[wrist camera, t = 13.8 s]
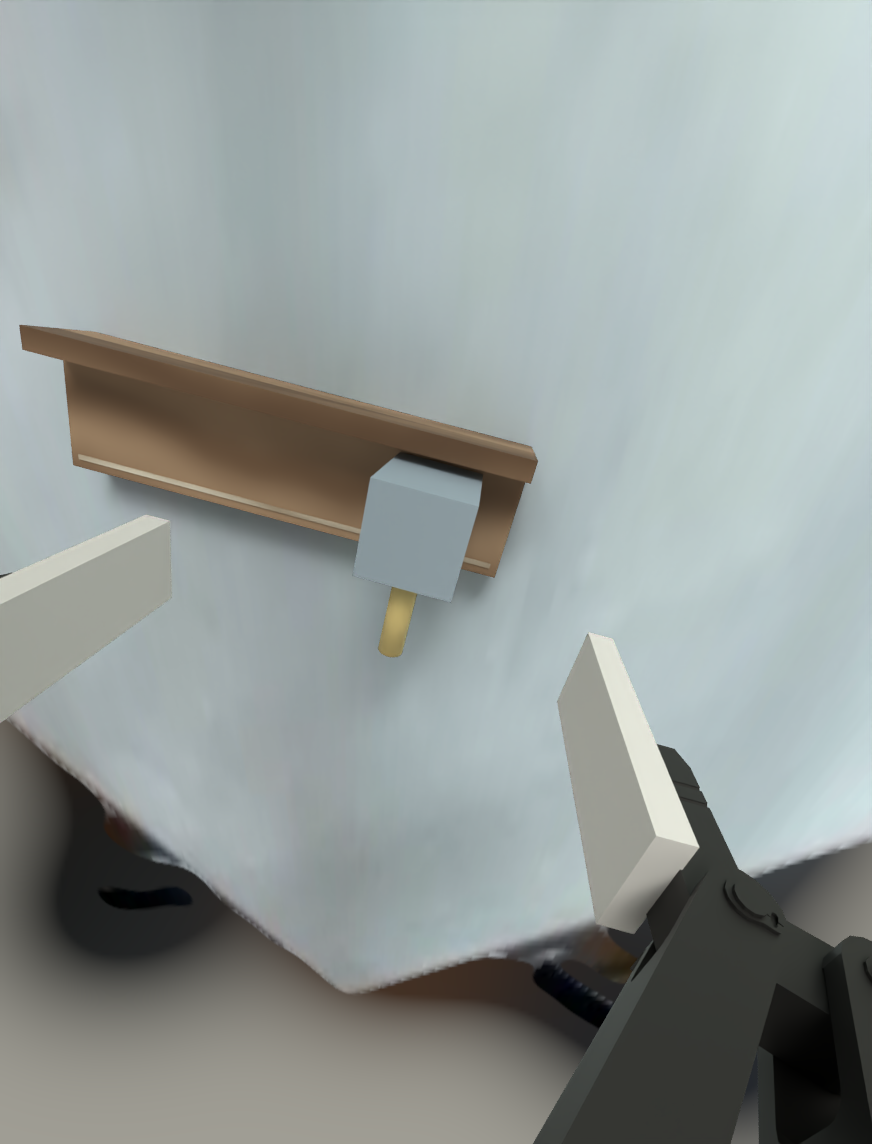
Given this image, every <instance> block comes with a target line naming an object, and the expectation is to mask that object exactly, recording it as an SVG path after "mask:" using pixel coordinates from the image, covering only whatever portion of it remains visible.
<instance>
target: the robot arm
mask: <svg viewBox="0 0 872 1144" xmlns="http://www.w3.org/2000/svg"><path fill="white" fill-rule="evenodd" d="M171 598H172V591H171V539H170V521H169V520H165V519H161V518H157V517H154V516H150V515H144V516H141V517H139V518H137V519H135V520H132V521H130V522H128V523H126V524H123V525H121V526H119V527H116V528H114V529H112V530H110V531H107V532H105V533H103V534H100V535H98V536H96V537H94V538H91V539H89V540H87V541H85V542H82V543H80V544H78V545H75V546H73V547H71V548H69V549H66V550H64V551H62V552H59V553H57V554H55V555H53V556H50V557H48V558H46V559H44V560H41V561H39V562H37V563H34V564H32V565H30V566H28V567H25V568H23V569H21V570H18V571H16V572H14V573H8V574H4V575H0V723H1V722H2V721H4V720H5V719H6V718H8V717H9V716H11V715H12V714H13V713H15V712H16V711H17V710H19V709H20V708H21V707H23V706H24V705H26V704H27V703H28V702H30V701H31V700H32V699H34V698H35V697H37V696H38V695H39V694H41V693H42V692H43V691H45V690H46V689H48V688H49V687H50V686H52V685H53V684H54V683H56V682H57V681H58V680H60V679H61V678H63V677H64V676H65V675H67V674H68V673H69V672H71V671H72V670H74V669H75V668H76V667H78V666H79V665H80V664H82V663H83V662H85V661H86V660H87V659H89V658H90V657H91V656H93V655H94V654H95V653H97V652H98V651H100V650H101V649H102V648H104V647H105V646H106V645H108V644H109V643H111V642H112V641H113V640H115V639H116V638H117V637H119V636H120V635H122V634H123V633H124V632H126V631H127V630H128V629H130V628H131V627H132V626H134V625H135V624H137V623H138V622H139V621H141V620H142V619H143V618H145V617H146V616H148V615H149V614H150V613H152V612H153V611H154V610H156V609H157V608H159V607H160V606H161V605H163V604H164V603H165V602H167V601H168V600H169V599H171ZM557 703H558V709H559V715H560V720H561V726H562V732H563V737H564V743H565V749H566V754H567V760H568V766H569V771H570V777H571V783H572V789H573V794H574V800H575V806H576V811H577V817H578V823H579V828H580V834H581V840H582V846H583V851H584V857H585V863H586V868H587V874H588V880H589V885H590V891H591V897H592V903H593V908H594V914H595V920H596V924H599V925H603V926H606V927H610V928H614V929H617V930H621V931H625V932H628V933H632V934H634V933H635V932H636V930H637V929H638V928H639V927H640V925H641V924H642V922H643V921H644V920H645V919H646V917H647V918H648V923H649V926H650V930H651V934H652V937H653V941H652V942H651V943H650V944H649V945H648V947H647V948H646V949H645V950H644V952H643V953H642V954H641V955H640V957H639V958H638V959H637V960H636V962H635V963H634V964H633V965H632V967H631V968H630V969H631V970H632V971H633V972H632V974H631V976H630V977H629V979H628V981H627V982H626V984H625V986H624V988H623V989H622V991H621V993H620V995H619V997H618V998H617V1000H616V1001H615V1003H614V1005H613V1007H612V1008H611V1010H610V1012H609V1013H608V1015H607V1017H606V1019H605V1020H604V1022H603V1024H602V1026H601V1027H600V1029H599V1031H598V1032H597V1034H596V1036H595V1038H594V1039H593V1041H592V1043H591V1045H590V1047H589V1048H588V1050H587V1051H586V1053H585V1055H584V1057H583V1058H582V1060H581V1062H580V1064H579V1065H578V1067H577V1069H576V1070H575V1072H574V1074H573V1076H572V1077H571V1079H570V1081H569V1083H568V1084H567V1086H566V1088H565V1090H564V1091H563V1093H562V1094H561V1096H560V1098H559V1100H558V1101H557V1103H556V1105H555V1107H554V1108H553V1110H552V1112H551V1114H550V1115H549V1117H548V1119H547V1120H546V1122H545V1124H544V1126H543V1128H542V1129H541V1131H540V1133H539V1134H538V1136H537V1138H536V1139H535V1141H534V1143H533V1144H730V1143H731V1140H732V1136H733V1133H734V1129H735V1126H736V1122H737V1119H738V1115H739V1112H740V1108H741V1105H742V1101H743V1097H744V1094H745V1091H746V1087H747V1084H748V1080H749V1077H750V1073H751V1070H752V1066H753V1063H754V1059H755V1056H756V1052H757V1051H758V1112H759V1113H758V1114H759V1144H872V941H869V940H867V939H865V938H863V937H856V936H849V937H848V938H846V939H844V940H843V941H842V942H841V943H839V944H838V945H837V946H836V947H835V948H834V947H832V946H830V945H829V944H827V943H825V942H823V941H821V940H820V939H818V938H816V937H814V936H813V935H811V934H809V933H807V932H805V931H803V930H802V929H800V928H798V927H797V926H795V925H793V924H791V923H790V922H788V921H787V920H786V918H785V916H784V914H783V911H782V910H781V908H780V907H779V905H778V904H777V903H776V901H775V900H774V899H773V897H772V896H771V894H769V892H768V891H767V890H766V889H764V888H763V887H762V886H761V885H760V884H759V883H758V882H757V881H756V880H755V879H753V878H752V877H750V876H749V875H747V874H746V873H744V872H743V871H741V870H739V869H738V867H737V865H736V863H735V861H734V859H733V857H732V855H731V853H730V850H729V848H728V846H727V844H726V842H725V840H724V838H723V836H722V834H721V831H720V829H719V827H718V825H717V823H716V821H715V819H714V817H713V815H712V812H711V810H710V808H707V802H706V800H705V798H704V796H703V793H702V791H699V788H700V787H699V785H698V783H697V781H696V779H695V777H694V774H693V772H692V770H691V768H690V767H689V766H688V765H687V763H686V762H685V761H684V760H683V759H682V757H681V756H680V755H679V754H678V753H677V752H676V750H675V749H673V748H669V747H665V746H662V745H658V744H656V742H655V739H654V737H653V734H652V732H651V730H650V727H649V725H648V722H647V720H646V717H645V715H644V713H643V710H642V708H641V705H640V703H639V701H638V698H637V696H636V693H635V691H634V689H633V686H632V684H631V681H630V679H629V676H628V674H627V672H626V669H625V667H624V664H623V662H622V660H621V657H620V655H619V652H618V650H617V648H616V645H615V643H614V640H613V639H612V638H608V637H604V636H600V635H597V634H593V633H589V632H588V634H587V636H586V638H585V641H584V643H583V645H582V647H581V649H580V652H579V654H578V656H577V658H576V661H575V663H574V665H573V667H572V669H571V672H570V674H569V676H568V678H567V681H566V683H565V685H564V687H563V689H562V692H561V694H560V696H559V698H558V701H557Z"/></svg>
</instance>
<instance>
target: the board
mask: <svg viewBox="0 0 872 1144" xmlns="http://www.w3.org/2000/svg"><path fill="white" fill-rule="evenodd" d="M19 326H20V334H21V342H22V349H23V350H26V351H30V352H34V353H38V354H41V355H45V356H49V357H53V358H56V359H60V360H63V363H64V373H65V384H66V394H67V404H68V415H69V425H70V436H71V446H72V457H73V465H75V466H79V467H82V468H86V469H90V470H94V471H97V472H101V473H105V474H108V475H112V476H116V477H120V478H123V479H127V480H131V481H135V482H138V483H142V484H146V485H150V486H153V487H157V488H161V489H165V490H168V491H172V492H176V493H180V494H183V495H187V496H191V497H194V498H198V499H202V500H206V501H209V502H213V503H217V504H221V505H224V506H228V507H232V508H236V509H239V510H243V511H247V512H251V513H254V514H258V515H262V516H266V517H269V518H273V519H277V520H281V521H284V522H288V523H292V524H295V525H299V526H303V527H307V528H310V529H314V530H318V531H322V532H325V533H329V534H333V535H337V536H340V537H344V538H348V539H352V540H355V541H359V537H360V532H361V526H362V521H363V515H364V510H365V504H366V499H367V493H368V488H369V482H370V477H371V476H373V475H374V474H375V473H376V472H377V471H378V470H380V469H381V468H382V467H383V466H384V465H386V464H387V463H388V462H389V461H390V460H391V459H393V458H394V457H395V456H396V455H397V454H398V453H400V452H402V453H406V454H410V455H413V456H417V457H421V458H424V459H428V460H432V461H436V462H439V463H443V464H447V465H450V466H454V467H458V468H462V469H465V470H469V471H473V472H476V473H480V474H483V479H482V487H481V495H480V502H479V508H478V512H477V515H476V518H475V522H474V525H473V529H472V532H471V536H470V539H469V542H468V546H467V549H466V553H465V556H464V560H463V563H462V567H461V569H464V570H468V571H471V572H475V573H479V574H482V575H486V576H490V577H494V578H495V574H496V571H497V568H498V565H499V562H500V559H501V556H502V553H503V550H504V547H505V543H506V540H507V537H508V534H509V531H510V528H511V525H512V522H513V519H514V515H515V512H516V509H517V506H518V503H519V500H520V497H521V494H522V491H523V487H524V484H525V482H526V483H530V484H531V481H532V478H533V475H534V472H535V469H536V466H537V463H538V460H537V458H536V456H535V453H534V451H533V449H532V447H531V446H527V445H523V444H519V443H516V442H512V441H508V440H504V439H500V438H497V437H493V436H489V435H485V434H481V433H478V432H474V431H470V430H466V429H462V428H459V427H455V426H451V425H447V424H443V423H440V422H436V421H432V420H428V419H424V418H421V417H417V416H413V415H409V414H405V413H402V412H398V411H394V410H390V409H386V408H382V407H379V406H375V405H371V404H367V403H363V402H360V401H356V400H352V399H348V398H344V397H341V396H337V395H333V394H329V393H325V392H322V391H318V390H314V389H310V388H306V387H303V386H299V385H295V384H291V383H287V382H284V381H280V380H276V379H272V378H268V377H265V376H261V375H257V374H253V373H249V372H246V371H242V370H238V369H234V368H230V367H227V366H223V365H219V364H215V363H211V362H208V361H204V360H200V359H196V358H192V357H189V356H185V355H181V354H177V353H173V352H169V351H166V350H162V349H158V348H154V347H150V346H147V345H143V344H139V343H135V342H131V341H128V340H124V339H120V338H116V337H112V336H109V335H105V334H101V333H97V332H91V331H80V330H70V329H59V328H48V327H38V326H27V325H19Z"/></svg>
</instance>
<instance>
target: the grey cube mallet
mask: <svg viewBox="0 0 872 1144" xmlns="http://www.w3.org/2000/svg"><path fill="white" fill-rule="evenodd" d="M482 479H483V474H480V473H476V472H473V471H469V470H465V469H462V468H458V467H454V466H450V465H447V464H443V463H439V462H436V461H432V460H428V459H424V458H421V457H417V456H413V455H410V454H406V453H402V452H400V453H398V454H397V455H396V456H395V457H394V458H393V459H391V460H390V461H389V462H388V463H387V464H386V465H384V466H383V467H382V468H381V469H380V470H378V471H377V472H376V473H375V474H374V475H373V476H371V477H370V482H369V488H368V493H367V499H366V504H365V510H364V515H363V521H362V526H361V532H360V537H359V542H358V548H357V553H356V559H355V564H354V570H353V575H352V576H355V577H359V578H362V579H366V580H370V581H373V582H377V583H381V584H384V585H388V586H392V589H391V593H390V598H389V602H388V607H387V611H386V615H385V620H384V624H383V629H382V633H381V638H380V642H379V646H378V650H379V651H380V653H382V654H383V655H385V656H388V657H398V656H400V655H401V654H402V651H403V647H404V643H405V640H406V636H407V632H408V628H409V624H410V620H411V616H412V612H413V608H414V604H415V600H416V596H417V594H421V595H425V596H428V597H432V598H436V599H439V600H443V601H447V602H450V603H451V601H452V597H453V594H454V591H455V587H456V584H457V580H458V577H459V573H460V570H461V567H462V563H463V560H464V556H465V553H466V549H467V546H468V542H469V539H470V536H471V532H472V529H473V525H474V522H475V518H476V515H477V512H478V508H479V502H480V495H481V487H482Z"/></svg>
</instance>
